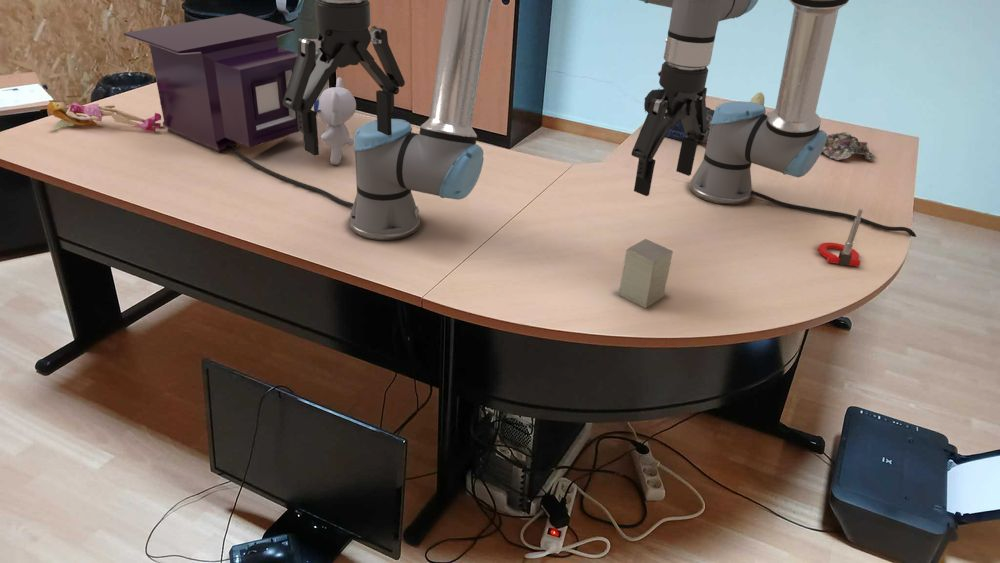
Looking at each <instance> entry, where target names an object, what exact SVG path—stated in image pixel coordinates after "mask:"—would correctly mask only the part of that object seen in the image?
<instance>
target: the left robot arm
mask: <svg viewBox="0 0 1000 563" xmlns="http://www.w3.org/2000/svg"><path fill="white" fill-rule="evenodd" d="M493 1H494V0H446V2H445V8H444V15H443V20H442V27H441V28H442V30H441V35H440V42H439V49H438V56H437V63H436V69H435V75H434V76H435V77H434V83H433V89H432V98H431V102H430V110H429V117H428V119H427V120H426V121H425V122H423V123H422V124H420V126H419V133H417V132H416V133H415V132H412V131H413V127H412V125H411V123H410V122H409V121H407V120H405V119H400V118H392V113H394V110H395V95H398V94H399V92H400V89H399V88H403V87H404V86H405V84H406V81H405V79H404V77H403V74H402V71H401V70H400V67H399V65H398V63H397V61H396V58H395V56H394V54H393V51H392V49H391V46H390V45H389V38H388V30H386V29H384V28H382V27H379V26H376V25H373V26H371V4H370V3H371V2H370V1H369V0H314V11H315V21H316V22H315V23H316V26H317V29H318V35H317V38H310V39H309V38H306V37H303V36H302V37H299V38H298V40H297V41H298V42H297V53H298V56H297V59H296V62H295V65H294V68H293V72H292V75H291V78H290V81H289V84H288V87H287V90H286V93H285V96H284V100H283V105H284V106H285V107H287V108H289V109H291V110H294V111H296V112H297V121H298V129H299V133H302V137H303V148H304V151H305V152H307V153H309V154H311V155H313V156H319V155H320V146H319V132H318V131H319V130H318V119H317V118H318V117H317V115H316V112H315V111H314V109H313V108H314V104H315V102H316V101H317V100H318V99H319V98H320V96H321V94H322V92H323V91H324V90H323V89H324V88H325V86H326V84H327V83H328V81H329V79H330V77H331V76H332V74H335V73H336V71H337V70H338V68H340V69H343V68H346V67H349V66H358V65H359V64H360V65H361V66H362V68H363V69H364V70H365V71H366V73H368V75H369V76H370V77H371V79H372V80H373V81H374V82H375V83H376V85H377V86H378V87H379V90H376V91H375V98H376V102H375V103H376V120H372V121H369V122H366V123H364V124H362V125H361V126H359V127H358V128H357V129H356V131H355V134H354V145H353V146H354V147H353V150H354V163H355V176H356V177H355V179H356V180H355V181H356V195H355V198H354V201H353V202H350V201H347V200H344V199H341V198H339V197H337V196H335V195H333V194H331V193H329V191H326V190H323V189H322V188H319V187H316V186H313V185H310V184H307V183H303V182H301V181H298V180H295V179H293V178H290V177H287V176H285V175H283V174H280V173H277V172H275V171H273V170H271V169H269V168H266V167H265V166H263V165H261V164H259V163H257V162H255V161H253V160H252V159H250V158H248V157H246V156H245V155H243V154H241V153H240V152H239V151H237V150H236V149H235V148H231V147H227V149H228V150H227V151H229V152H230V153H232V154H234V155H235V156H236V157H238V158H240V159H241V160H243V161H244V162H246V163H247V164H249V165H251V166H253V167H254V168H257V169H258V170H261V171H262V172H265V173H267V174H268V175H271V176H273V177H275V178H277V179H280V180H283V181H285V182H287V183H291V184H293V185H296V186H298V187H301V188H304V189H307V190H310V191H313V192H315V193H318V194H321V195H324V196H326V197H327V198H329V199H331V200H333V201H334V202H336V203H339V204H341V205H343V206H346V207H349V208H351V211H350V214H349V227H350V230H351V231H352V232H353V233H354V234H356V235H358V236H360V237H362V238H364V239H367V240H368V239H369V240H372V241H373V240H374V241H395V240H401V239H403V238H407V237H409V236H411V235H413V234H414V233H416V232H417V231H418V230H419V228H420V224H421V223H420V221H421V220H420V210H419V209H420V208H419V206H418V205H416V202H415V199H414V196H413V193H412V191H414V192H418V193H422V194H423V193H424V194H426V195H427V194H428V195H432V196H437V197H440V198H441V199H449V200H450V199H451V200H457V201H458V200H462V199H465V198H466V197H468V196H469V195H470V194H471V193H472V191H474V189H475V186H476V185H477V183H478V182H479V179H480V175H481V173H482V169H483V165H484V149H483V148H482V146H480V145H479V144H477V139H478V135H477V133H476V131H475V130H474V129H473V126H472V124H473V117H474V110H475V104H476V97H477V92H478V87H479V86H478V85H479V79H480V73H481V67H482V62H483V54H484V50H485V48H484V47H485V41H486V35H487V29H488V25H489V24H488V23H489V17H490V10H491V4H492V2H493ZM370 26H371V27H370ZM369 27H370V30H369ZM370 44H372V47H373V49H374V52H375V53H376V56H377V57H378V60H379V63H380V64H381V66H382V68H383V69H382V68H381V67H380V66H379V64H378V63H377V61H375V58H374V56H373V55H372V53H370V52H369V50H368V48H369V45H370ZM319 51H320V53H319ZM317 55H318V57H317V58H316V56H317ZM314 64H315V66H314ZM313 67H314V68H313Z"/></svg>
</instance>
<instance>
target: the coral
mask: <svg viewBox="0 0 1000 563" xmlns="http://www.w3.org/2000/svg"><path fill="white" fill-rule="evenodd" d="M821 153H824V155H825V156H827V157H828V158H830V159H832V160H835V161H839V160H840V161H841V160H844V159H848V158H851V157H852V155H853V154H854V155H857V154H859V155H860V156H861V158H863V159H865V160H866V161H871V162H874V160H875V159H874V158H875V155H874V154H873V153H872V152H871V151H870V149H869V147H868V142H867V141H859V139H858V137H855V136H853V135H852V134H851V133H849V132H848V131H846V132H844V131H843V132H836V133H830V134H827V140H826V143H825V146H824V148H823V150H822V152H821ZM873 157H874V158H873Z"/></svg>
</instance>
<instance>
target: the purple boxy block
mask: <svg viewBox="0 0 1000 563" xmlns="http://www.w3.org/2000/svg"><path fill="white" fill-rule="evenodd" d="M294 31H295V28H294V27H292V26H287V25H283V24H279V23H276V22H272V21H269V20H264V19H262V18H259V17H256V16H255V17H254V16H252V15H247V14H244V13H235V14H230V15H224V16H217V17H212V18H205V19H200V20H194V21H188V22H181V23H175V24H169V25H163V26H157V27H151V28H146V29H145V28H144V29H139V30H134V31H128V32H123V36H125V37H127V38H130V39H133V40H136V41H138V42H142V43H145V44H148V45H149V50H150V54H151V60H152V66H153V71H154V75H155V76H154V77H155V82H156V87H157V92H158V97H159V102H160V107H161V113H162V118H163V122H162V126H163V127H165V128H166V129H167V131H168V132H170V133H172V134H175V135H177V136H179V137H182V138H184V139H187V140H189V141H191V142H193V143H196V144H197V145H200V146H203V147H205V148H207V149H209V150H212V151H215V152H217V153H219V154H220V153H224V152H227V151H229V150H228V149H227V147H231V148H232V149H235V148H237V144H240V145H242V146H245V147H247V148H249V149H250V148H253V147H256V146H259V145H262V144H266V143H269V142H271V141H275V140H278V139H281V138H285V137H287V136H289V135H293V134H296V133H300V131H299V129H298V121H297V112H296V111H294V110H291V109H289V108H287V107H285V106H284V105H283V100H284V96H285V93H286V90H287V87H288V84H289V81H290V78H291V75H292V72H293V68H294V65H295V62H296V59H297V56H298V52H296V51H295V52H294V51H291V50H288V49H285V48H282V47H279V44H278V40H277V38H280V37H282V36H286V35H287V34H291V33H292V32H294Z"/></svg>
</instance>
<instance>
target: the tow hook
mask: <svg viewBox="0 0 1000 563" xmlns="http://www.w3.org/2000/svg"><path fill="white" fill-rule="evenodd" d="M863 211H864V210H863V209H861V208H859V209H858V211H857V214H856V216H857V217H856V218H855V219H853V222H852V226H851V228H850V231H849V234H848V237H847V240H846V241H845V243H844V244H843V243H837V242H822V243H821V244H819V245H818V249H817V251H818V253H819V254H820V255H822V256H823V257H824V258H826V262H827V263H832V264H838V265H842V266H843V265H844V266H855V267H860V265H861V260H860V254H859V252H858V251H857V250H855V249H854V248H853V246H854V241H855V237H856V235H857V232H858V229H859V226H860V223H861V222H860V221H861V219H860V217H861V218H862V214H863ZM828 249H837V250H841V251H839V253H838V255H836V254H834V253H832V252H830V251H828Z"/></svg>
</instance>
